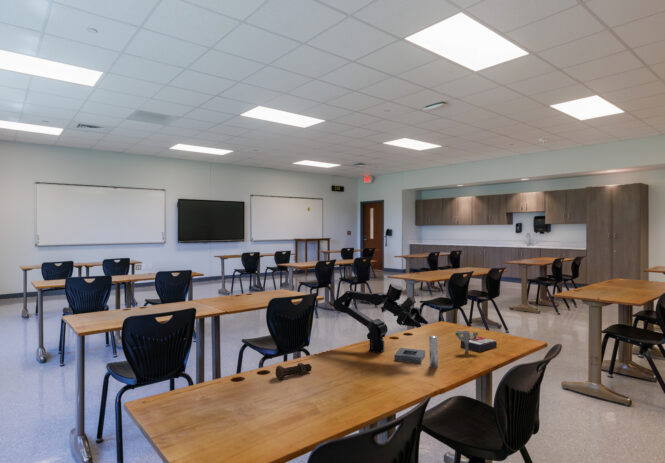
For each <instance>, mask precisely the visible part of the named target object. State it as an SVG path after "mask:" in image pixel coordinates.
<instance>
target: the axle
mask: <svg viewBox="0 0 665 463" xmlns="http://www.w3.org/2000/svg"><path fill="white" fill-rule="evenodd" d="M438 338H439V336H437V335H429V339H428V340H429V345H428V346H429V367H430V368H433V369H435V368H436V369H437V368H439V345H438V344H439V342H438V341H439V340H438Z"/></svg>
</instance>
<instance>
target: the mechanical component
mask: <svg viewBox="0 0 665 463" xmlns="http://www.w3.org/2000/svg"><path fill="white" fill-rule="evenodd" d="M454 333H455V336H456V338H457V339H458V340H459V341H461V340H464V343H465V348H464V351H465V353H467V354H469V349H468V344H469V340H476V337H477V336H478V332H477V331H472V334H471V332H470V331H469V330H457V331H456V332H454ZM461 335H462V336H461Z"/></svg>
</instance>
